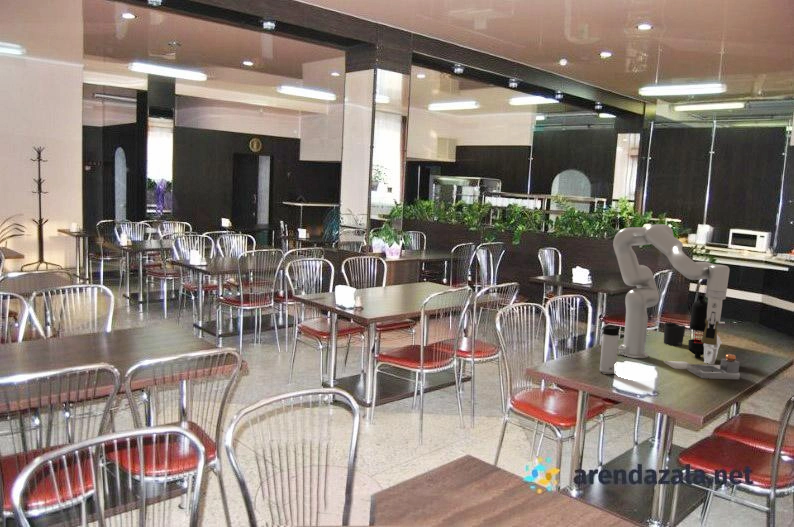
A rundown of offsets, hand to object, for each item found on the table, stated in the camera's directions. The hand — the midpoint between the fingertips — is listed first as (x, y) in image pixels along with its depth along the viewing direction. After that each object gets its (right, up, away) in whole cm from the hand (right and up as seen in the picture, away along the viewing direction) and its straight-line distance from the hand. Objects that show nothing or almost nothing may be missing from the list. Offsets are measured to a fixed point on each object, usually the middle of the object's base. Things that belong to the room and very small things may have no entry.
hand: (709, 336), depth 255 cm
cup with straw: (+10, -15, +20) cm, 27 cm away
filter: (+10, -13, +30) cm, 34 cm away
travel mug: (-44, -15, -3) cm, 47 cm away
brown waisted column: (0, -3, +1) cm, 3 cm away
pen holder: (+9, -10, +53) cm, 55 cm away
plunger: (+8, -13, -1) cm, 15 cm away
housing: (+2, -16, +1) cm, 17 cm away
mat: (-7, -15, +13) cm, 21 cm away
